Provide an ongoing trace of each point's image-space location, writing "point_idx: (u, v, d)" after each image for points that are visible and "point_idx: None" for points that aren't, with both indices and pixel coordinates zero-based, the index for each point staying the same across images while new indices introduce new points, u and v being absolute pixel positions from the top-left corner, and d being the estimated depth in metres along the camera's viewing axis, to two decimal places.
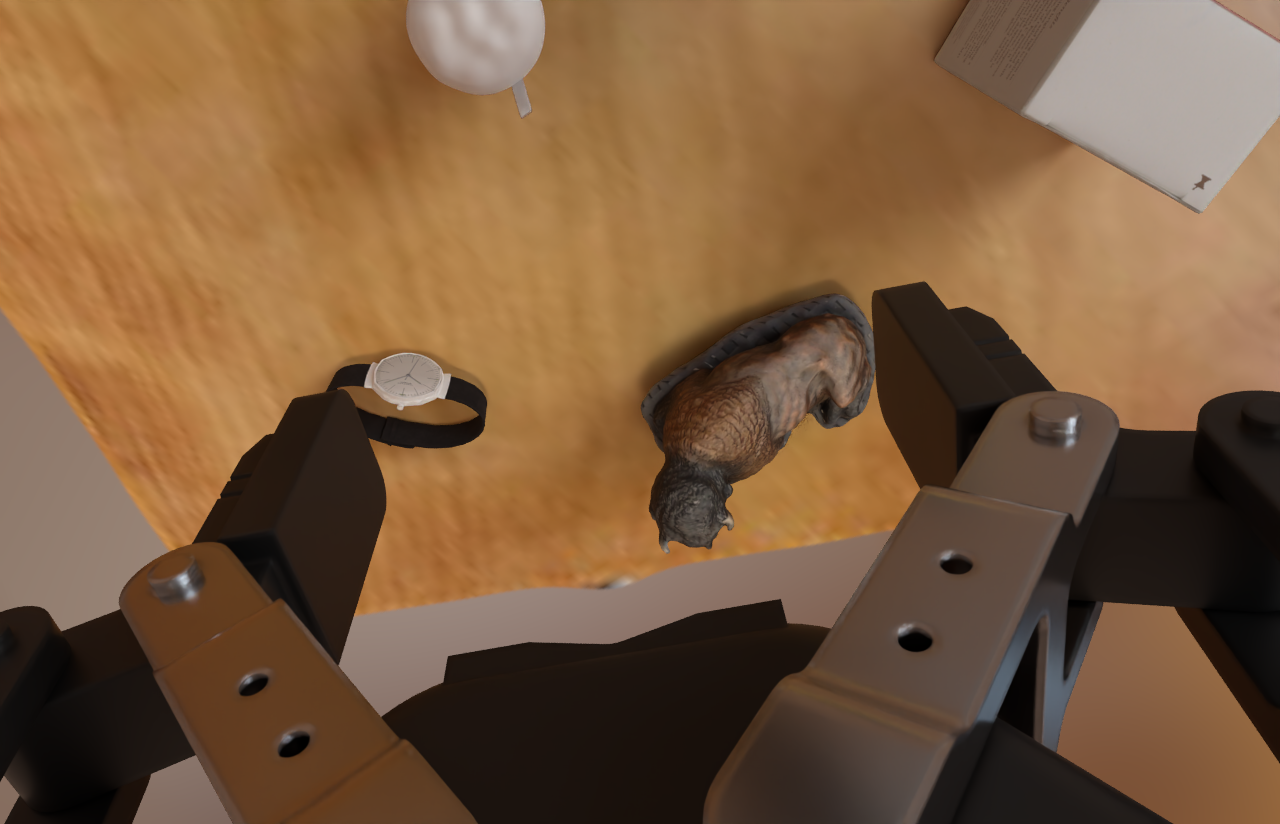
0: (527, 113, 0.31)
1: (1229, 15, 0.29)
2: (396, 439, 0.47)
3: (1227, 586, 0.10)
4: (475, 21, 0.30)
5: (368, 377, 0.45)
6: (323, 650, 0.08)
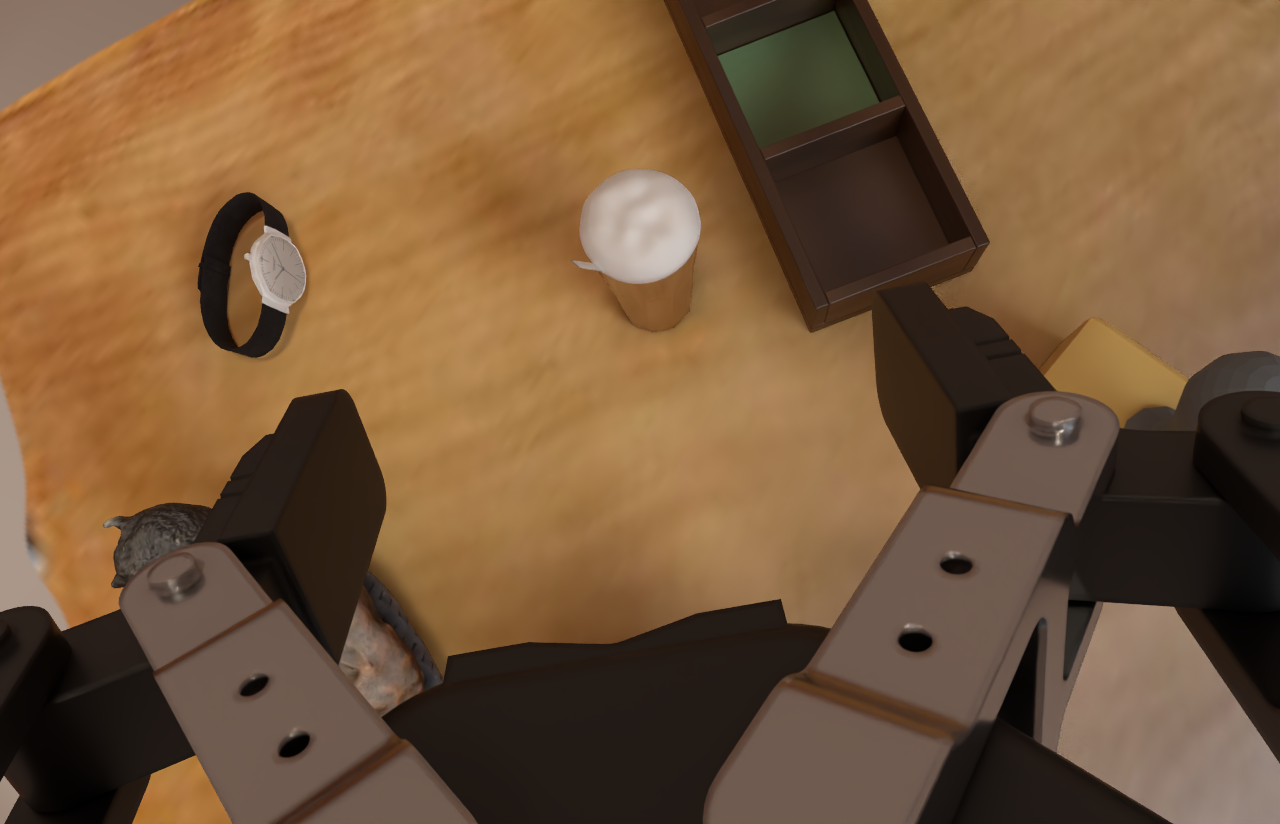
0: (576, 264, 0.33)
1: None
2: (206, 271, 0.44)
3: (1227, 586, 0.10)
4: (643, 215, 0.34)
5: (275, 231, 0.44)
6: (323, 650, 0.08)
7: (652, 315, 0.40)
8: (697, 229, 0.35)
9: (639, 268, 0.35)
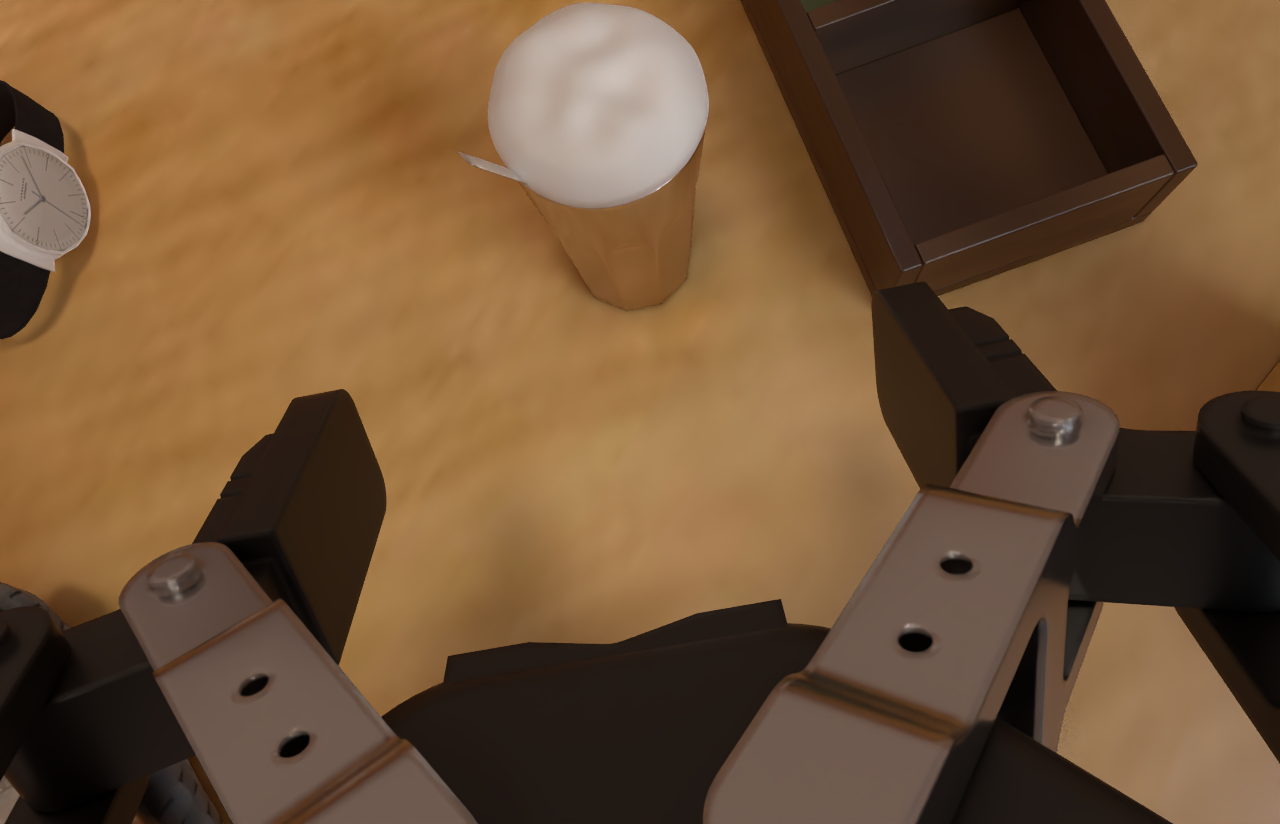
0: (468, 158, 0.17)
1: None
2: None
3: (1227, 586, 0.10)
4: (601, 79, 0.18)
5: (34, 140, 0.28)
6: (324, 650, 0.08)
7: (624, 279, 0.24)
8: (702, 108, 0.19)
9: (593, 176, 0.18)
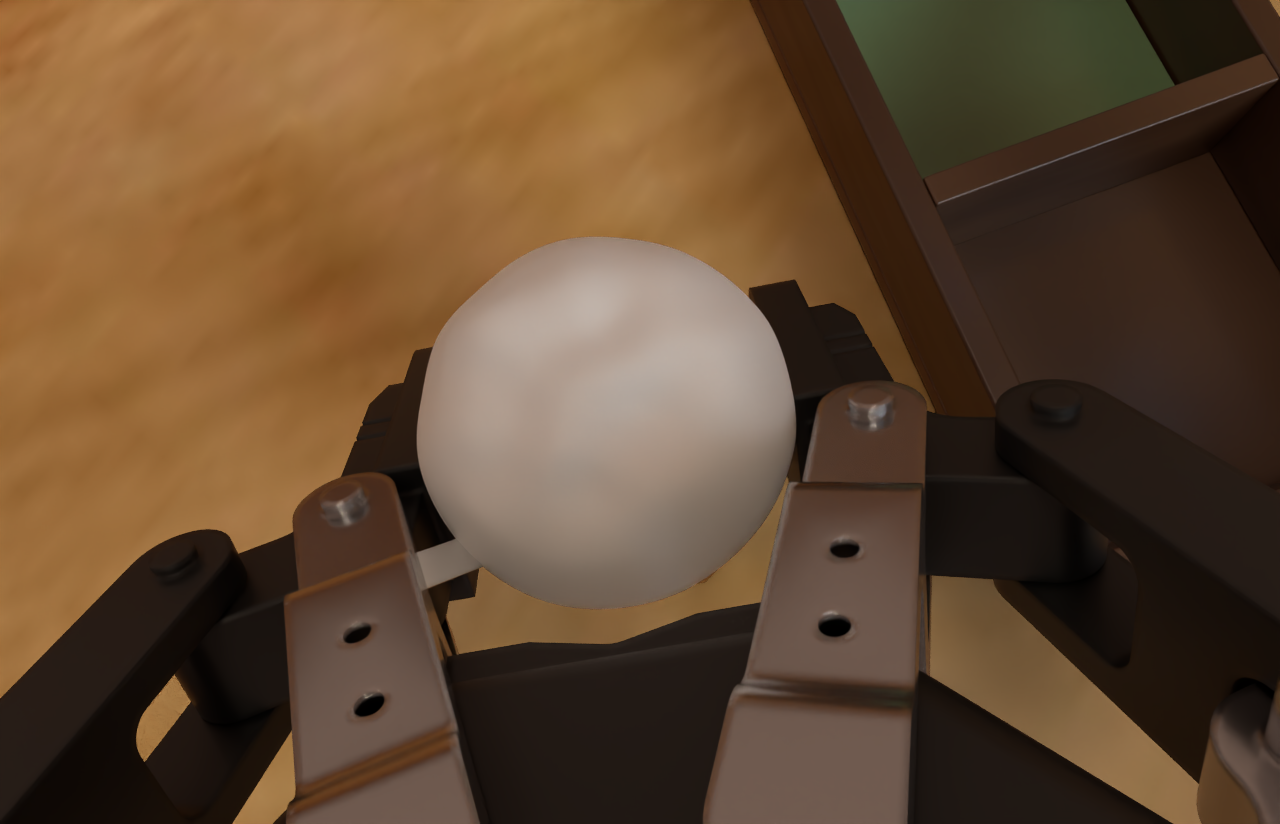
0: None
1: None
2: None
3: (1025, 558, 0.10)
4: (608, 400, 0.10)
5: None
6: (424, 615, 0.08)
7: None
8: (787, 440, 0.11)
9: (594, 574, 0.10)
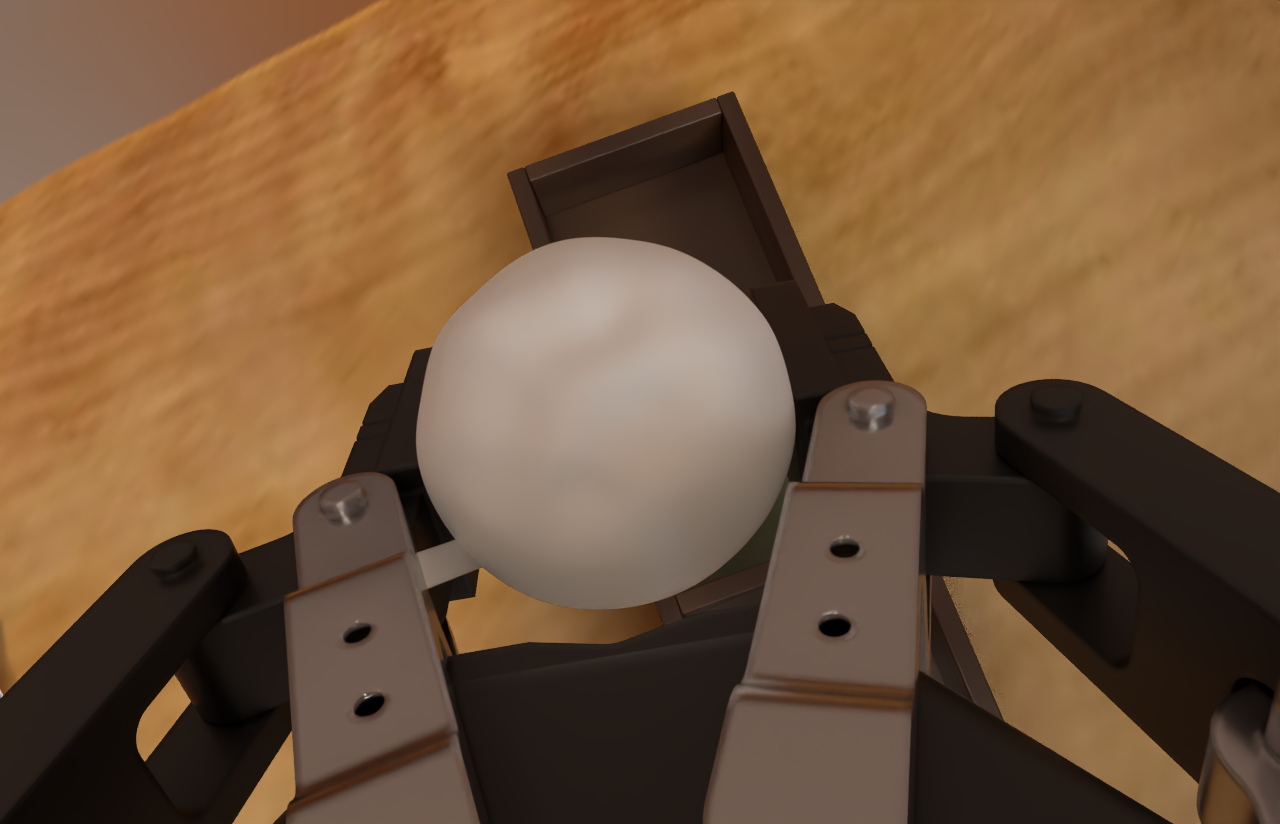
0: None
1: None
2: None
3: (1025, 559, 0.10)
4: (607, 401, 0.10)
5: None
6: (425, 615, 0.08)
7: None
8: (787, 440, 0.11)
9: (594, 575, 0.10)
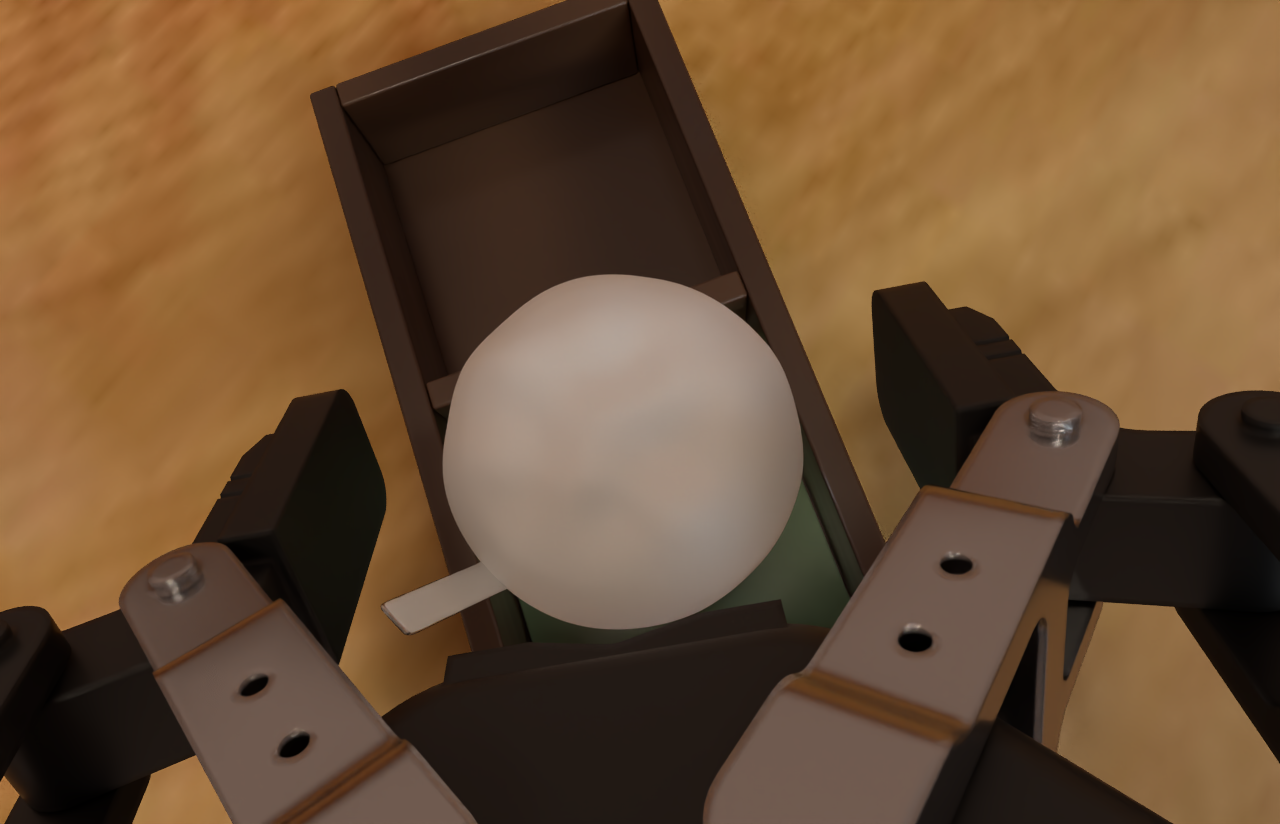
0: (398, 622, 0.10)
1: None
2: None
3: (1226, 586, 0.10)
4: (628, 435, 0.11)
5: None
6: (323, 650, 0.08)
7: None
8: (796, 471, 0.11)
9: (615, 598, 0.11)
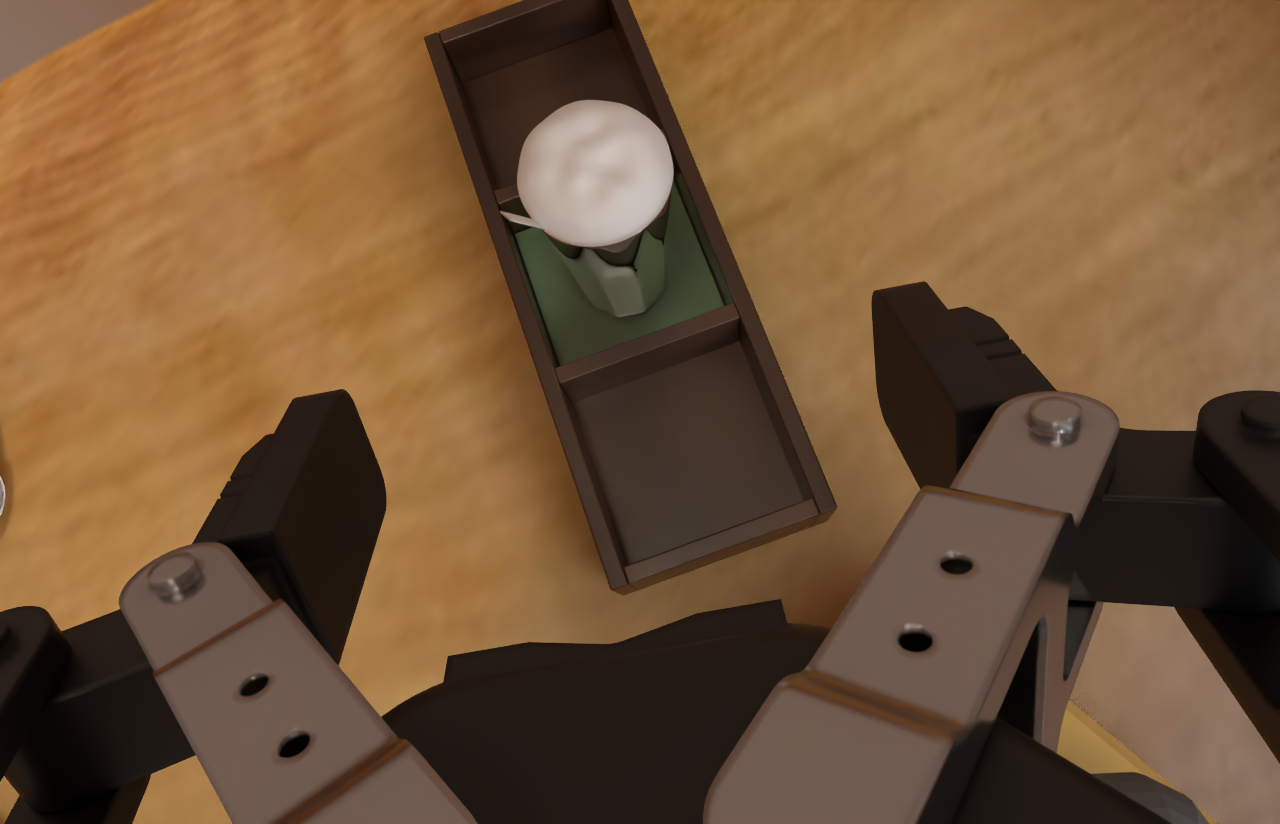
0: (507, 216, 0.25)
1: None
2: None
3: (1227, 586, 0.10)
4: (597, 157, 0.26)
5: None
6: (323, 650, 0.08)
7: (615, 294, 0.32)
8: (668, 176, 0.27)
9: (592, 225, 0.26)
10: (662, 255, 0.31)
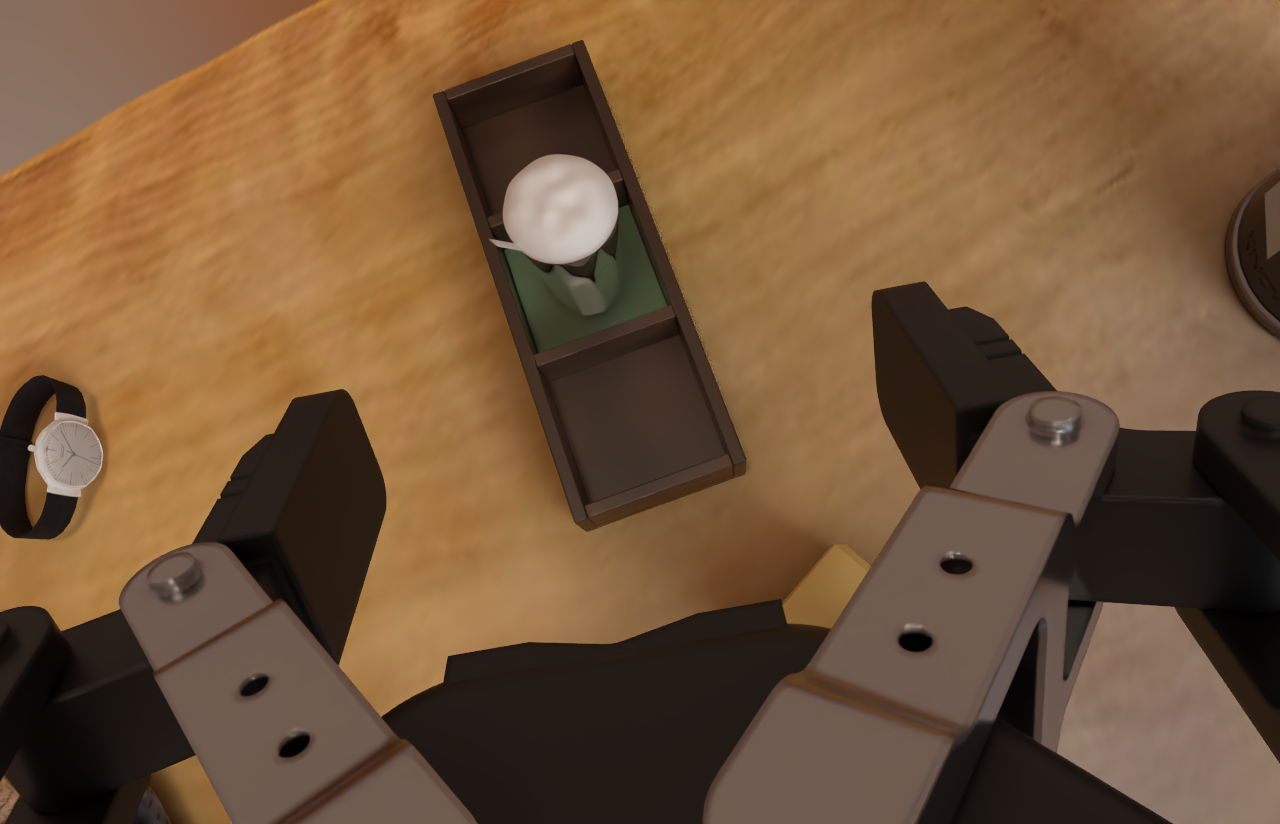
0: (494, 242, 0.35)
1: None
2: (2, 451, 0.45)
3: (1227, 586, 0.10)
4: (561, 198, 0.36)
5: (68, 416, 0.44)
6: (323, 650, 0.08)
7: (580, 298, 0.42)
8: (614, 212, 0.36)
9: (557, 248, 0.36)
10: (615, 268, 0.41)
